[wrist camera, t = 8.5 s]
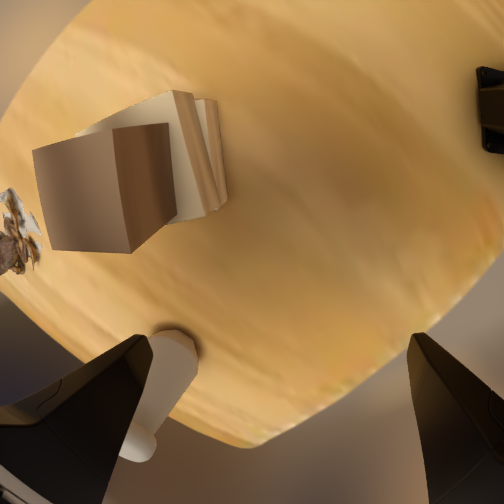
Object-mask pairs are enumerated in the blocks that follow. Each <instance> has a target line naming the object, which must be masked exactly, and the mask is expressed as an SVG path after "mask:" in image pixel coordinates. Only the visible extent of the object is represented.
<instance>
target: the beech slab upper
mask: <svg viewBox="0 0 504 504" xmlns="http://www.w3.org/2000/svg"><path fill="white" fill-rule="evenodd" d="M158 123H168V124H169V137H170V149H171V160H172V171H173V180H174V189H175V198H176V206H177V215H176V216H175V217H174V218H173V219H171V220H170V221H169V222H168V223H166V224H165V225H168V224H172V223H177V222H182V221H187V220H192V219H197V218H202V217H206V216H207V215H208V214H209V213H210V212H211V211H212V210H213V209H214V208H215V207H216V206H217V205H218V204H219V203H220V202H221V201H220V197H219V194H218V190H217V186H216V182H215V179H214V175H213V171H212V167H211V164H210V160H209V156H208V152H207V148H206V144H205V141H204V137H203V133H202V129H201V125H200V121H199V117H198V113H197V109H196V105H195V101H194V97H193V93H187V92H182V91H176V90H170V91H167V92H165V93H162V94H159V95H157V96H154V97H152V98H149V99H147V100H145V101H142V102H140V103H137V104H135V105H133V106H131V107H128V108H126V109H124V110H122V111H120V112H117V113H115V114H113V115H111V116H109V117H107V118H105V119H103V120H101V121H99V122H97V123H95V124H93V125H91V126H89V127H87V128H85V129H84V130H82V131H80V132H78V133H76V134H75V135H76V137H80V136H84V135H88V134H92V133H96V132H101V131H105V130H110V129H116V128H123V127H131V126H139V125H148V124H158Z"/></svg>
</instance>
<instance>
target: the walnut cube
mask: <svg viewBox="0 0 504 504" xmlns="http://www.w3.org/2000/svg"><path fill="white" fill-rule="evenodd" d="M32 153H33V161H34V168H35V174H36V180H37V186H38V191H39V197H40V202H41V206H42V211H43V215H44V220H45V224H46V228H47V232H48V236H49V240H50V243H51V247H52V250H62V251H82V252H104V253H126V254H131V253H133V252H134V251H135V250H136V249H137V248H138V247H139V246H141V245H142V244H143V243H144V242H145V241H146V240H148V239H149V238H150V237H151V236H152V235H153V234H155V233H156V232H157V231H158V230H159V229H160V228H162V227H163V226H164V225H165V224H166V223H168V222H169V221H170V220H171V219H173V218H174V217H175V216H176V215H177V206H176V198H175V189H174V180H173V171H172V160H171V149H170V137H169V124H168V123H158V124H148V125H139V126H131V127H123V128H116V129H110V130H105V131H101V132H96V133H92V134H88V135H84V136H80V137H76V138H72V139H68V140H65V141H61V142H58V143H54V144H51V145H47V146H44V147H41V148H38V149H35V150H32Z"/></svg>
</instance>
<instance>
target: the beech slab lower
mask: <svg viewBox="0 0 504 504" xmlns="http://www.w3.org/2000/svg"><path fill="white" fill-rule="evenodd" d="M195 105H196V109H197V113H198V117H199V121H200V125H201V129H202V133H203V137H204V141H205V144H206V148H207V152H208V156H209V160H210V164H211V167H212V171H213V175H214V179H215V182H216V186H217V190H218V194H219V197H220V201H221V202H220V203H219V204H218V205H217V206H216V207H215V208H214V209H213V210H219V208H220V207H221V206H222V205H223V204H224V203H225V202H226V201H227V200H228V196H227V188H226V180H225V171H224V163H223V155H222V146H221V138H220V129H219V120H218V112H217V103H216V101H212V100H206V99H201V100H196V101H195ZM213 210H212V211H213Z"/></svg>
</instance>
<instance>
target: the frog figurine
mask: <svg viewBox="0 0 504 504" xmlns="http://www.w3.org/2000/svg"><path fill="white" fill-rule="evenodd" d="M0 202H3V203H5V205H6V206H7V208H8V210H9V212H8V213H7V214H6V213H4V212H3V213H2V214H3V218H4V228H5V230H6V232H7V234H8V235H7V236H5V235H4V234H3V232H1V231H0V275H2V274H4V273H6V272H7V271H8V269H11V270H12V271H14V272H16V274H17V275H18V274H24V273H25V267H24V265H23V264H22V263H21V261H18V264H17V266H15V263H16V260H17V257H18V255H20V257H21V259H22V261H23V262H24V263H27V262H28V256H31V258H32V265H33V271H34V264H35V262H36V261H38V262H39V255H40V253H41V251H42V250H41V248H43V247H42V246H41V244H40V243H38V242H37V240H36V242H35V244H33V245H32V244H31V243H30V242H29V241H28V239H26V233H27V230H28V231H30V232H33V231H35V232H36V233H37V234H38V235H40V236H41V232H40V229H39V226H38V223H37V222H36V220H35V218H34V216H33V215H32V213H31V212H30V218H29V217H28V216H27V214H26V212H24V210H23V203H22V200H21V199H20V198H19V197H18V195H17V194H16V192H15V191H14V189H13V188H9V189H6V190H5V191H4V192H2V193H1V194H0ZM4 216H5V217H4ZM35 239H36V238H35Z"/></svg>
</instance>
